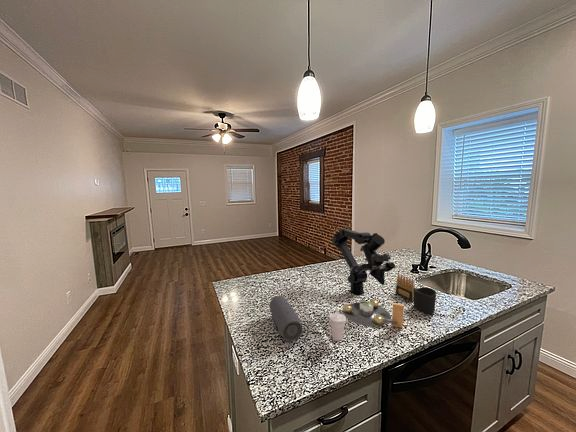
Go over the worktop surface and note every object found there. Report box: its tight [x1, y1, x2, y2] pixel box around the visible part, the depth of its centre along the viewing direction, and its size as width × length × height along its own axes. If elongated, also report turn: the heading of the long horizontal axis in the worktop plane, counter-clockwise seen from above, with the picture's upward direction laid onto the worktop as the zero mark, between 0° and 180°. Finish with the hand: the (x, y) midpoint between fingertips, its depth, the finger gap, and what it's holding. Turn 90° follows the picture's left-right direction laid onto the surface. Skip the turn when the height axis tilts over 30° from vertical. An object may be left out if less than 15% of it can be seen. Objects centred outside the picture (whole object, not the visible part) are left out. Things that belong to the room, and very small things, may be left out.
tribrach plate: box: [342, 299, 392, 327], centre depth 113 cm, size 21×21×6 cm
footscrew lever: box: [373, 302, 405, 329], centre depth 103 cm, size 12×4×10 cm, turn 65°
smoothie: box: [329, 305, 347, 342], centre depth 95 cm, size 6×6×14 cm
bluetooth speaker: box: [269, 295, 304, 342], centre depth 104 cm, size 23×9×10 cm, turn 17°
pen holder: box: [413, 286, 437, 316], centre depth 117 cm, size 9×9×10 cm
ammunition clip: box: [395, 272, 415, 302], centre depth 131 cm, size 11×2×12 cm, turn 23°
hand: (383, 284), depth 115 cm, fingers closed
